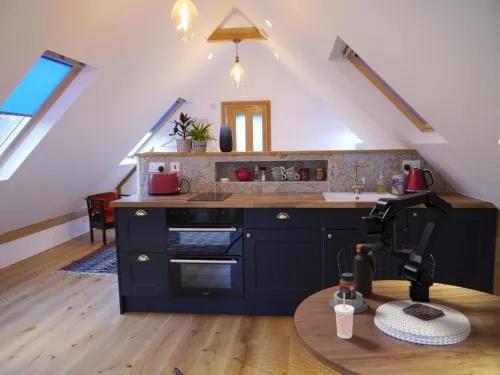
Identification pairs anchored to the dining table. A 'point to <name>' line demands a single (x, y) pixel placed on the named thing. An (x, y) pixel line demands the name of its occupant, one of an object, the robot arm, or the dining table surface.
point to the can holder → (349, 302)
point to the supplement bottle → (348, 286)
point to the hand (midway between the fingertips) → (386, 274)
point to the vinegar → (363, 274)
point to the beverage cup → (344, 319)
